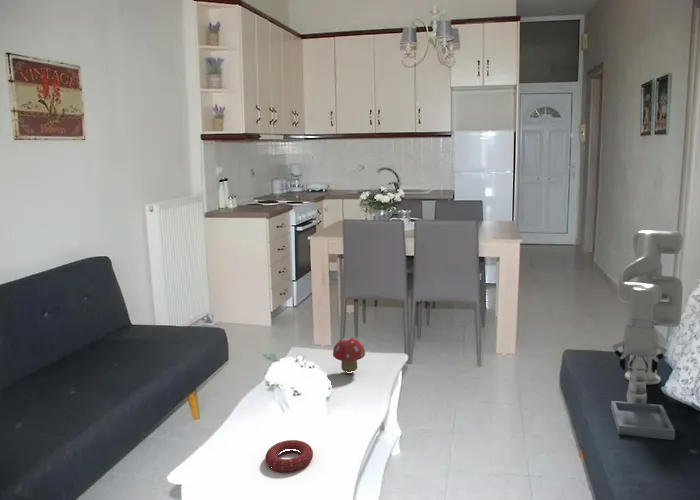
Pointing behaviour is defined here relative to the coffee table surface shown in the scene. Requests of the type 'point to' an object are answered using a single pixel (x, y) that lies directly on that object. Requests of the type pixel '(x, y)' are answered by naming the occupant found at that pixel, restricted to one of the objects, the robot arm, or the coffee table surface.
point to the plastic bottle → (637, 379)
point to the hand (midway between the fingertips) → (637, 370)
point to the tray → (642, 420)
